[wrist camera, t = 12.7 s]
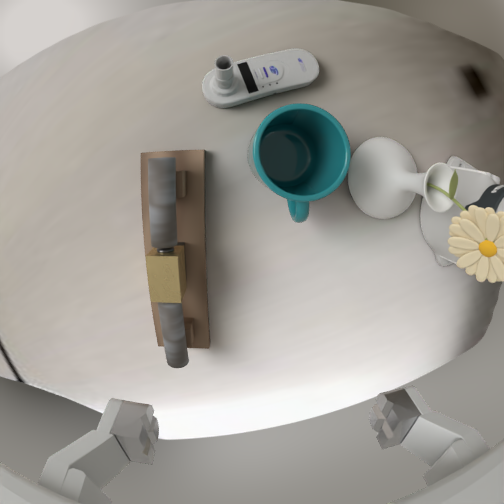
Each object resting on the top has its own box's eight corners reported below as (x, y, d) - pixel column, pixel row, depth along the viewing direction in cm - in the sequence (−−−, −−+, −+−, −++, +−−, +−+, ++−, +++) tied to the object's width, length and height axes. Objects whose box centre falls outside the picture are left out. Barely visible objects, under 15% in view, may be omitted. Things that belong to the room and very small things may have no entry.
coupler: (183, 243, 32) (177, 253, 28) (186, 290, 34) (181, 305, 30) (155, 243, 32) (145, 253, 28) (159, 289, 34) (151, 304, 30)
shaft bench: (205, 150, 33) (197, 146, 26) (210, 342, 41) (206, 374, 34) (144, 153, 32) (122, 151, 25) (160, 340, 41) (149, 371, 33)
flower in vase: (333, 145, 33) (481, 131, 10) (401, 132, 33) (546, 127, 9) (354, 237, 37) (481, 330, 14) (416, 216, 37) (547, 274, 13)
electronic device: (348, 61, 22) (205, 94, 22) (319, 84, 31) (211, 115, 31) (328, 21, 20) (188, 50, 20) (305, 52, 30) (198, 80, 30)
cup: (254, 217, 36) (263, 240, 25) (243, 125, 32) (246, 106, 21) (321, 209, 36) (356, 228, 25) (312, 120, 32) (345, 102, 21)
